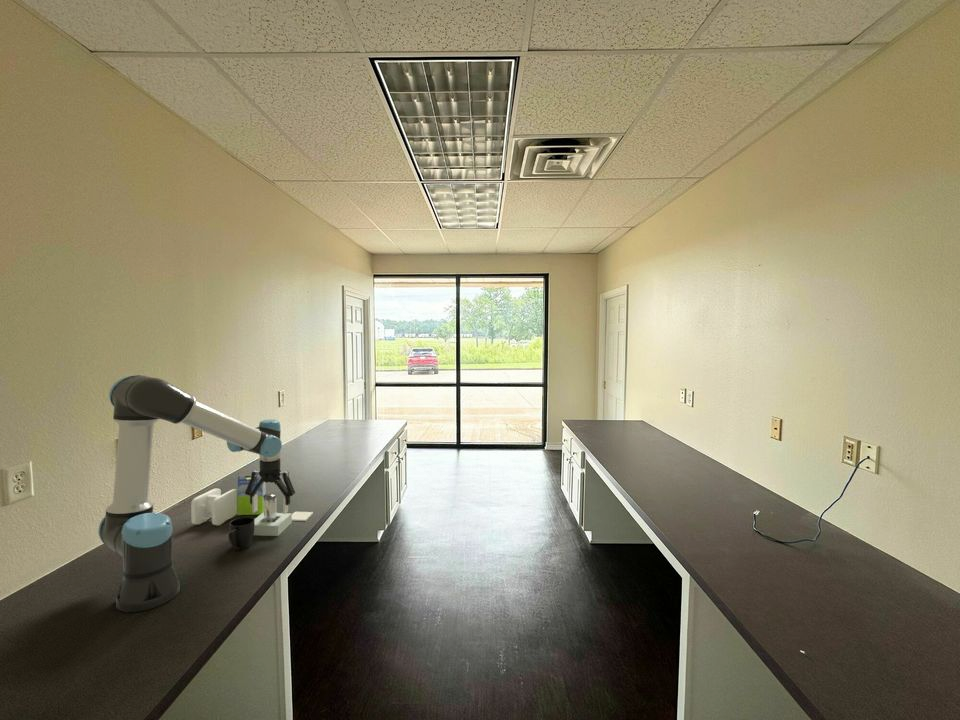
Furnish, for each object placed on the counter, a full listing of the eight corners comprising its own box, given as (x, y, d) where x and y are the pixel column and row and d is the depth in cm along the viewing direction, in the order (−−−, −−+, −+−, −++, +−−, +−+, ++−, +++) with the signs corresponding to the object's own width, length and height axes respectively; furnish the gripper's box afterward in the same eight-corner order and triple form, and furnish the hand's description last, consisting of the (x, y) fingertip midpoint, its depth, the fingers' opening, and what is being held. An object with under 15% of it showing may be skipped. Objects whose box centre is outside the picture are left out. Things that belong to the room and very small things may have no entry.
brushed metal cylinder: (273, 531, 175) (273, 497, 175) (260, 531, 175) (260, 497, 175) (279, 526, 180) (279, 493, 180) (267, 525, 180) (267, 492, 180)
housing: (278, 535, 172) (278, 525, 172) (247, 534, 172) (247, 524, 172) (291, 522, 184) (291, 513, 184) (263, 521, 184) (263, 512, 184)
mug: (218, 556, 155) (217, 530, 154) (237, 540, 167) (237, 516, 166) (241, 557, 155) (241, 531, 154) (258, 541, 167) (258, 517, 166)
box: (266, 511, 195) (266, 472, 194) (262, 515, 191) (262, 475, 190) (241, 511, 194) (240, 473, 192) (237, 515, 189) (236, 476, 188)
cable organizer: (214, 529, 176) (214, 500, 176) (190, 527, 177) (189, 499, 177) (239, 514, 191) (238, 487, 190) (216, 512, 192) (216, 486, 192)
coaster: (305, 521, 186) (305, 519, 186) (286, 520, 186) (286, 519, 186) (313, 513, 194) (313, 512, 194) (295, 512, 194) (295, 511, 194)
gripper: (303, 457, 180) (303, 509, 181) (245, 455, 180) (245, 507, 181) (295, 462, 172) (295, 516, 174) (234, 460, 173) (235, 514, 174)
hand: (270, 512), depth 177 cm, fingers open, 12 cm apart
